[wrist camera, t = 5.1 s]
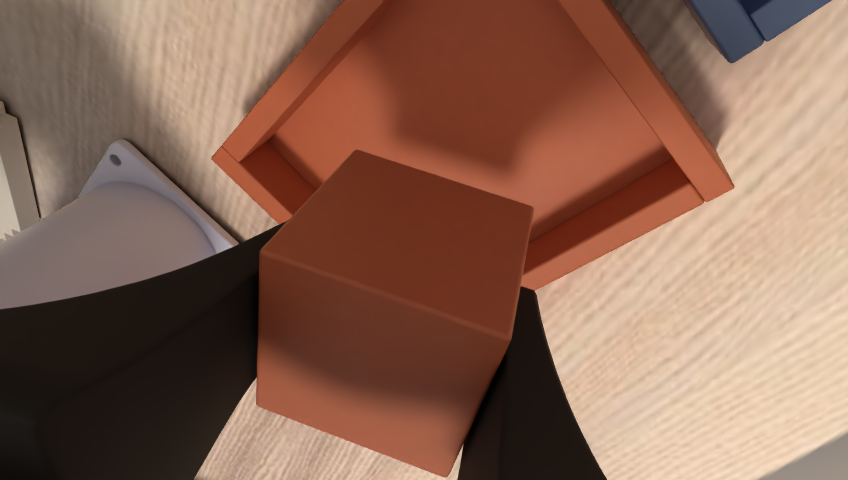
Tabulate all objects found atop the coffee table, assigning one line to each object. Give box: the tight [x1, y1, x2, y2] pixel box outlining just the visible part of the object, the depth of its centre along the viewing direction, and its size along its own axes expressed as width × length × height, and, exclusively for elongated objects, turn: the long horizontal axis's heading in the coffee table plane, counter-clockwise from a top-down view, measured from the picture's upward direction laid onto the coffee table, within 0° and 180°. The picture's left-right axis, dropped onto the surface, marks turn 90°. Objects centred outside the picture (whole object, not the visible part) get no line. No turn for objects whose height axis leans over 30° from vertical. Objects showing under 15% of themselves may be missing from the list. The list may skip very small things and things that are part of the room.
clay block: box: [256, 150, 534, 477], centre depth 11 cm, size 4×4×4 cm
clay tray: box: [212, 0, 734, 291], centre depth 17 cm, size 13×11×2 cm
